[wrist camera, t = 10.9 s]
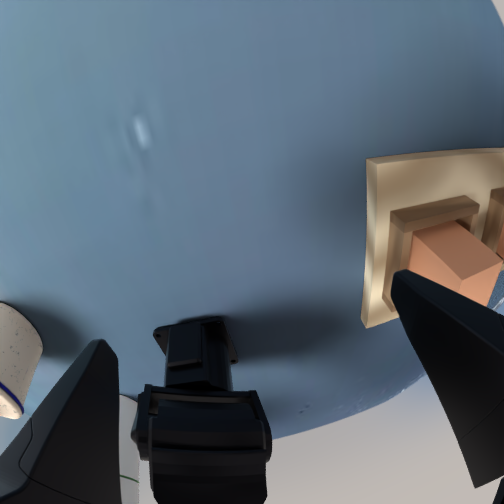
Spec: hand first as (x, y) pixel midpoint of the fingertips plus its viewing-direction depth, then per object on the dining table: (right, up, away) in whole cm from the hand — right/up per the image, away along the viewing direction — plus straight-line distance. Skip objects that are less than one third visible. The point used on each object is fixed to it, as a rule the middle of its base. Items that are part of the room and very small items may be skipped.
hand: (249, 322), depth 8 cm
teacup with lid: (-27, -7, +15) cm, 32 cm away
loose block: (+15, +2, +14) cm, 20 cm away
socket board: (+21, +5, +15) cm, 26 cm away
